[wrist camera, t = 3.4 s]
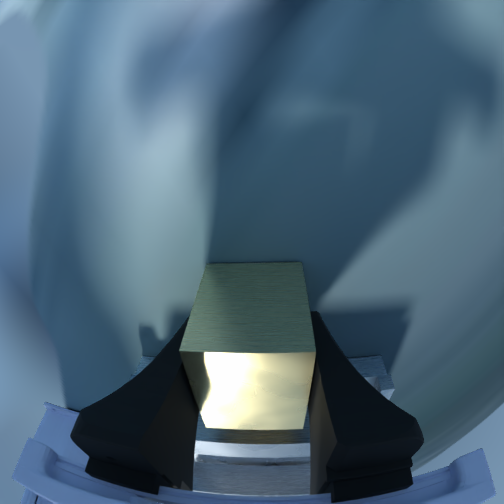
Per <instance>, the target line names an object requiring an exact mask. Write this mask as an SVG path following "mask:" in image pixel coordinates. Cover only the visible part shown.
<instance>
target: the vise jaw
mask: <svg viewBox="0 0 504 504" xmlns="http://www.w3.org/2000/svg"><path fill="white" fill-rule="evenodd" d="M193 491H195V492H203V493H212V494H222V495H237V496H300V495H310V464H309V465H289V466H247V465H227V464H214V463H204V462H195V465H194V471H193Z"/></svg>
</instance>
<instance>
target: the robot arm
mask: <svg viewBox="0 0 504 504" xmlns="http://www.w3.org/2000/svg"><path fill="white" fill-rule="evenodd" d="M310 314H311V321H312V327H313V334H314V341H315V347H316V356H315V363H314V369H313V376H312V382H311V388H310V394H309V399H308V412H309V426H310V495H300V496H237V495H222V494H212V493H203V492H195V491H193V468H194V454H195V442H196V432H197V424H198V416H199V408H198V405H197V402H196V399H195V397H194V394H193V391H192V388H191V385H190V382H189V380H188V377H187V374H186V371H185V368H184V365H183V362H182V359H181V355H180V352H179V349H180V346H181V343H182V340H183V336H184V333H185V330H186V327H187V323H188V320H189V317H190V316H189V317H188V318H187V320H186V321H185V322H184V324H183V325H182V326H181V328H180V329H179V330H178V332H177V333H176V334H175V335H174V337H173V338H172V339H171V340H170V342H169V343H168V344H167V345H166V346H165V348H164V349H163V350H162V351H161V352H160V353H159V354H158V355H157V356H156V357H155V358H154V359H153V361H152V362H151V363H149V364H148V365H147V366H146V367H145V368H144V369H143V370H142V371H141V372H140V373H139V374H138V375H136V376H135V377H134V378H133V379H131V380H130V381H129V382H127V383H126V384H125V385H124V386H122V387H121V388H119V389H118V390H116V391H115V392H113V393H112V394H110V395H108V396H107V397H105V398H103V399H102V400H100V401H98V402H96V403H94V404H92V405H90V406H88V407H86V408H84V409H82V410H81V411H80V413H79V412H75V411H72V410H69V409H65V408H62V407H59V406H56V405H53V404H50V403H48V402H44V406H45V407H46V409H47V410H46V413H45V415H44V417H43V419H42V421H41V423H40V425H39V427H38V429H37V432H36V434H35V436H34V438H33V439H32V438H28V440H27V442H26V444H25V447H24V449H23V451H22V453H21V456H20V458H19V461H18V463H17V465H16V468H15V470H14V473H13V475H12V479H13V480H15V481H16V482H18V483H20V484H21V485H23V486H24V487H26V488H25V491H24V493H23V496H22V499H21V502H20V504H161V503H162V504H481V503H483V502H485V501H487V500H489V499H490V498H492V497H494V496H495V495H496V491H495V488H494V484H493V480H492V477H491V473H490V470H489V466H488V464H487V460H486V457H485V454H484V451H483V449H482V448H480V449H478V450H476V451H473V452H471V453H468V454H466V455H463V456H461V457H459V458H457V459H456V460H454V461H453V462H452V463H451V464H450V465H449V466H447V467H444V468H441V469H438V470H435V471H432V472H429V473H425V474H422V475H419V476H415V477H412V474H411V470H410V467H412V465H413V463H412V459H411V457H412V456H413V455H414V454H415V453H416V452H417V451H418V450H419V449H420V447H421V446H422V445H423V443H424V438H423V434H422V431H421V429H420V426H419V424H418V422H417V420H416V418H415V417H413V416H411V415H410V414H408V413H407V412H405V411H404V410H402V409H400V408H399V407H397V406H396V405H395V404H393V403H392V402H391V401H389V400H388V399H387V398H386V397H385V396H383V395H382V394H381V393H380V392H379V391H378V390H376V389H375V388H374V387H373V386H372V385H371V384H370V383H369V382H368V381H367V380H366V379H365V378H364V377H363V376H362V375H361V374H360V373H359V372H358V371H357V369H356V368H355V367H354V366H353V365H352V364H351V362H350V361H349V360H348V358H347V357H346V356H345V355H344V353H343V352H342V351H341V349H340V348H339V346H338V345H337V343H336V342H335V340H334V339H333V337H332V336H331V334H330V332H329V331H328V329H327V327H326V326H325V324H324V322H323V320H322V318H321V316H320V314H319V313H318V312H317V311H313V312H310ZM157 502H158V503H157Z"/></svg>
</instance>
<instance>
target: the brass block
mask: <svg viewBox="0 0 504 504" xmlns="http://www.w3.org/2000/svg"><path fill="white" fill-rule="evenodd" d="M179 352H180V355H181V359H182V362H183V365H184V368H185V371H186V374H187V377H188V380H189V382H190V385H191V388H192V391H193V394H194V397H195V399H196V402H197V405H198V408H199V410H200V413H201V416H202V418H203V421H204V423H205V426H206V427H208V428H222V429H244V430H287V429H303V426H304V421H305V416H306V410H307V405H308V399H309V394H310V388H311V382H312V376H313V369H314V363H315V356H316V347H315V341H314V334H313V327H312V321H311V314H310V308H309V302H308V296H307V290H306V284H305V278H304V273H303V267H302V262H277V263H219V264H207V265H206V268H205V271H204V274H203V277H202V280H201V283H200V286H199V289H198V292H197V295H196V298H195V301H194V305H193V308H192V311H191V314H190V317H189V320H188V323H187V327H186V330H185V333H184V336H183V340H182V343H181V346H180V349H179Z"/></svg>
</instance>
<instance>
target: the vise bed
mask: <svg viewBox="0 0 504 504" xmlns="http://www.w3.org/2000/svg"><path fill="white" fill-rule="evenodd" d="M154 358H155V357H147V356H142V358H141V360H140V363H139V365H138V368H137V370H136V373H135V375H131V377H130V380H131V379H133V378H134V377H135V376H136V375H138V374H139V373H140V372H141V371H142V370H143V369H144V368H145V367H146V366H147V365H148V364H149V363H151V362H152V361H153V359H154ZM348 360H349V361H350V362H351V364H352V365H353V366H354V367H355V368H356V369H357V371H358V372H359V373H360V374H361V375H362V376H363V377H364V378H365V379H366V380H367V381H368V382H369V383H370V384H371V385H372V386H373V387H374V388H375V389H376V390H378V391H379V392H380V393H381V394H382V395H383V396H385V397H386V398H387V399H388V400H389V399H390V397H391V395H392V393H393V391H394V390H395V387H394V384H393V381H392V377H391V374H390V375H387V372H386V369H385V366H384V363H383V360H382V357H381V355H379V356H370V357H360V358H348ZM130 380H129V381H130ZM195 462H204V463H214V464H227V465H247V466H289V465H309V464H310V426H309V412H308V405H307V410H306V416H305V421H304V426H303V429H287V430H244V429H222V428H208V427H206V426H205V423H204V421H203V418H202V416H201V413H200V410H199V416H198V424H197V432H196V442H195V454H194V465H195ZM193 471H194V468H193Z"/></svg>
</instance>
